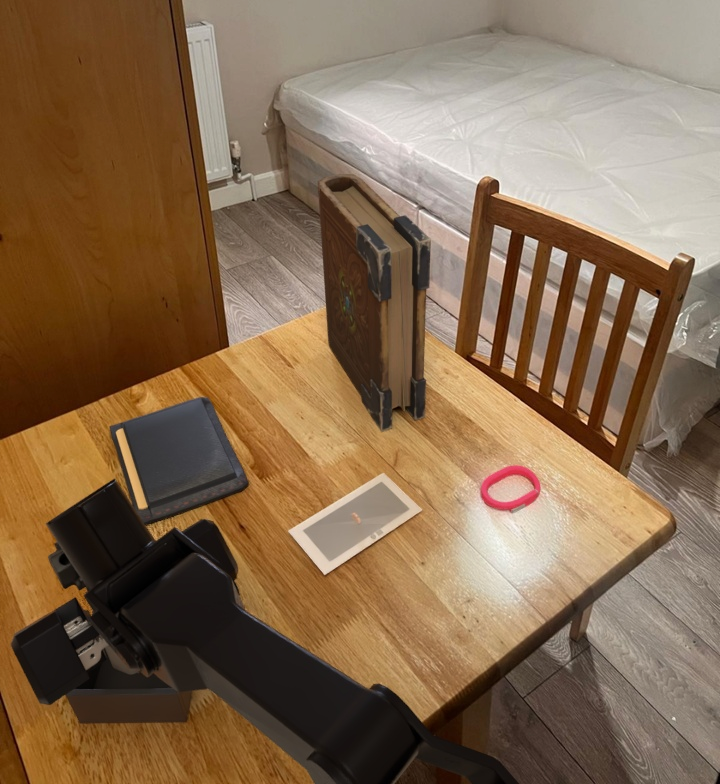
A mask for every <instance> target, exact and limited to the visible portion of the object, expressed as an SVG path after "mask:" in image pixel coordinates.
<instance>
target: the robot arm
mask: <svg viewBox="0 0 720 784" xmlns="http://www.w3.org/2000/svg"><path fill="white" fill-rule="evenodd" d="M45 525H46V527H47V528H48V530H49V531H50V533H51V534H52V536H53V538H54V539H55V541H56V542H55V543H53V545H54V547H55V551H54V552H52V553H50V554H49V555H48V556H47V559H48V563H49V564H50V566H51V569H52V570H53V572H54V574H55V576H56V577H57V580H58V582H59V583H60V585H61V587H62V589H64V590H67V589H69V588H71V586H75V587H76V588H77V590H78V591H81V590H83V589H86V591H85V593H84V594H83V598H84V599H85V601H86V603H87V605H88V606H89V607H90V608H91V610H92V613H93V612H94V614H93V615H92V614H91V612H90V611H89V610H88V609H84V608H83V606H82V605H81V603H80V602H79V600H78V598H77V597H76V596H74V598H72V599H70V600H68V601H66V602H65V603H63V604H62V605H60V606H58V607H57V608H55V609H53V610H52V611H50V612H48V613H46V614H45V615H43V616H41V617H39V618H38V619H36V620H35V621H33V622H31V623H30V624H28V625H26V626H25V627H23V628H22V629H20V630H18V631H17V632H15V633H14V634H13V637H12V640H11V642H10V647H11V649H12V651H13V654H14V655H15V658H16V659H17V661H18V663H19V665H20V668H21V670H22V671H23V674H24V675H25V677H26V680H27V681H28V683H29V685H30V687H31V690H32V691H33V694H34V695H35V698H36V699H37V701H38V703H39V704H42V705H46V706H51V705H53V704H54V703H55V702H57V701H59V700H60V699H62V698H63V697H65V696H66V694H67V693H69V692H70V691H72V690H73V689H75V688H76V687H78V686H79V685H81V684H82V683H84V682H85V681H86V680H88V679H89V676H88V674H87V673H88V672H89V671H91V670H92V669H94V668H95V667H97V666H98V665H100V664H101V663H103V662H104V661H105V660H107V657H106V654H105V651H104V648H105V647H107V646H108V645H109V646H110V647H111V648H112V650H113V651H114V652H115V653H116V654H117V656H118V657H119V658H120V659H121V660H122V662H123V663H124V664H125V665H126V666H127V667H128V668H129V669H133V670H136V671H137V672H138V673H140V672H141V673H142V674H143V675H144V676H146V677H149V676H150V675H152V674H153V673H154V674H155V675H156V676H157V677H158V678H160V679H161V680H162V681H164V682H165V683H166V684H168V685H169V686H170V687H172V688H173V689H175V690H176V691H177V692H188V691H193V692H194V691H202V690H208V691H210V692H211V693H213V694H215V695H216V696H217V697H219V698H220V699H221V700H222V701H223V702H224V703H226V704H227V705H228V706H229V707H230V708H232V709H233V710H234V711H235V712H237V714H239V715H240V716H241V717H243V718H244V719H245V720H246V721H247V722H248V723H250V724H251V725H252V726H253V727H255V728H256V729H257V731H260V733H262V734H263V735H264V736H265V737H266V738H268V739H269V740H270V741H271V742H272V743H273V744H274V745H276V746H277V747H278V748H280V749H281V750H282V751H283V752H284V753H286V754H287V755H288V756H289V757H291V759H293V760H294V761H295V762H297V763H298V764H299V765H300V766H301V767H303V769H305V770H306V772H307V773H308V775H309V777H310V779H311V780H312V783H313V784H396V783H397V781H398V780H399V779H400V777H401V776H402V775H403V774H404V772H406V770H407V768H408V767H409V766H410V765H411V764H412V762H413V761H414V760H417V761H420V762H423V763H425V764H429V765H432V766H433V767H436V768H439V769H442V770H445V771H448V772H451V773H453V774H456V775H459V776H461V777H464V778H466V779H467V780H468V781H469V783H470V784H520V783H519V781H518V780H517V779H516V778H515V777H514V776H513V774H512V773H511V772H510V771H509V770H508V769H507V768H506V766H504V764H503V763H502V762H501V761H500V760H499V759H497V758H496V757H494V756H492V755H489V754H486V753H484V752H481V751H478V750H475V749H472V748H470V747H467V746H464V745H462V744H459V743H456V742H454V741H450V740H448V739H445V738H442V737H439V736H436V735H434V734H433V733H432V732H431V731H430V730H429V729H428V727H427V726H426V725H425V724H424V723H423V722H422V720H421V719H420V718H419V717H418V716H417V714H415V712H414V711H413V710H412V709H411V707H409V705H408V704H407V703H406V702H405V701H404V700H403V699H402V698H401V697H400V696H399V695H398V694H397V693H395V692H394V691H393V690H392V689H391V688H389V687H388V686H386V685H383V684H381V683H373V684H372V685H371V686H370V687H369V688H368V687H367V686H365V685H363V684H361V683H360V682H358V681H357V680H355V679H353V678H352V677H351V676H349V675H348V674H346V673H344V672H343V671H341V670H340V669H338V668H336V667H335V666H333V665H331V664H330V663H328V662H327V661H325V660H324V659H323V658H321V657H319V656H317V655H316V654H314V653H313V652H311V651H309V650H308V649H306V648H305V647H304V646H302V645H300V644H299V643H297V642H295V641H294V640H293V639H291V638H289V637H288V636H286V635H285V634H283V633H281V632H280V631H279V630H277V629H275V628H274V627H272V626H271V625H269V624H268V623H266V622H264V621H263V620H261V619H259V618H258V617H256V616H255V615H253V614H251V613H250V612H249V611H247V610H246V607H245V605H244V603H243V601H242V598H241V593H240V589H239V586H238V585H237V583H236V581H235V580H237V579H238V575H239V566H238V563H237V560H236V559H235V557H234V555H233V553H232V551H231V549H230V546H229V545H228V543H227V541H226V539H225V538H224V536H223V534H222V532H221V529H220V528H219V526H218V525H217V524H216V523H215V521H213V520H212V519H208V518H201V519H199V520H197V521H196V522H195V523H193V524H191V525H189V526H188V527H186V528H184V529H183V530H180V529H178V528H177V527H176V526H175V527H173V528H171V529H170V530H169V531H167V532H166V533H165V534H163V535H162V536H161V537H160V538H158V539H155V538H154V535H152V533H151V531H150V530H149V528H148V526H147V525H145V524H144V522H143V521H142V519H141V518H140V516H139V515H138V513H137V511H136V510H135V508H134V507H133V505H132V501H131V500H130V499H129V497H128V496H127V494H126V493H125V491H124V490H123V489H122V487H121V485H120V484H119V482H118V480H117V479H116V478H115V477H114V478H112V479H111V480H110V481H108V482H107V483H105V484H103V485H102V486H100V487H99V488H97V489H95V490H94V491H92V492H91V493H89V494H88V495H87V496H85V497H84V498H81V499H80V500H79V501H77V502H76V503H74V504H73V505H71V506H70V507H68V508H67V509H64V511H62V512H60V513H59V514H58V515H56V516H54V517H53V518H51V519H50V520H49V521H46V523H45ZM100 635H101V636H102V638H101V637H100Z"/></svg>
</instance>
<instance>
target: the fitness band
mask: <svg viewBox="0 0 720 784" xmlns="http://www.w3.org/2000/svg"><path fill="white" fill-rule="evenodd" d="M513 475H517V476H523V477H525V478H526V479H528V480H529V481H530V482H531V483H532V484H533V487H534V489H532V490H531V491H529V492H527V493H525V494H523V496H520V497H518V498H517V499H513V500H511V501H510V500H509V501H499V500H496V499H494V498H492V497H491V496H490V495H489V492H488V489H489V488H490V487H491V486H492V485H494V484H496V483H498V482H500V481H502V480H503V479H506V478H507V477H510V476H513ZM540 493H541V481H540V480H539V478H538V476H537V475H536V474H535V473H534V472H533V471H532V470H531V469H530V468H528V467H526V466H523V465H517V464H516V465H515V464H513V465H509V466H508V465H507V466H506V467H503V468H501V469H499V470H497V471H496V472H493V473H492V474H490V475H489V476H487V477H486V478H485V479H484V480H483V482H482V483H481V487H480V496H481V499H482V500H483V502H484V503H485V504H486V505H487V506H489V507H491V508H494V509H497V510H508V511H509V512H510V513H511V514H514V513H516V512H518V511H520V510H522V509H524V508H526V507H527V506H529V505H530V504H532V503H534V501H536V500H537V499H538V497H539V496H540Z"/></svg>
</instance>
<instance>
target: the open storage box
mask: <svg viewBox="0 0 720 784" xmlns="http://www.w3.org/2000/svg"><path fill="white" fill-rule="evenodd" d="M93 614H94V612H93V611H92V614H91V616H92V615H93ZM104 651H105V654H106V657H107V660H105V661H104V662H103V663H101V664H100V665H98V666H97V667H95V668H94V669H92V670H91V671H89V672H88V673H87V674H88V676H89V679H88V680H86V681H85V682H84V683H82V684H81V685H79V686H78V687H76V688H75V689H73V690H72V691H70V692H69V693H67V694H66V695H65V697H66V699H67V701H68V703H69V705H70V707H71V709H72V712H73V713H74V715H75V717H76V719H77V721H78V724H159V723H160V724H161V723H162V724H165V723H166V724H167V723H168V724H169V723H176V724H177V723H187V722H188V717H189V713H190V707H191V702H192V697H193V692H194V691H188V692H177V691H176V690H175V689H173V688H172V687H170V686H169V685H168V684H166V683H165V682H164V681H162V680H161V679H160V678H158V677H157V676H156V675H155V674H154V673H153V674H152V675H150V676H149V677H146V676H144V675H143V674H142V673H141V672H140V673H138V672H137V673H135V674H132V675H130V674H127V673H124V672H122V671H119V670H117V669H115V668H114V667H113V666H112V664H111V661H110V659H109V657H108V654H107V652H106V649H105V648H104Z"/></svg>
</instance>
